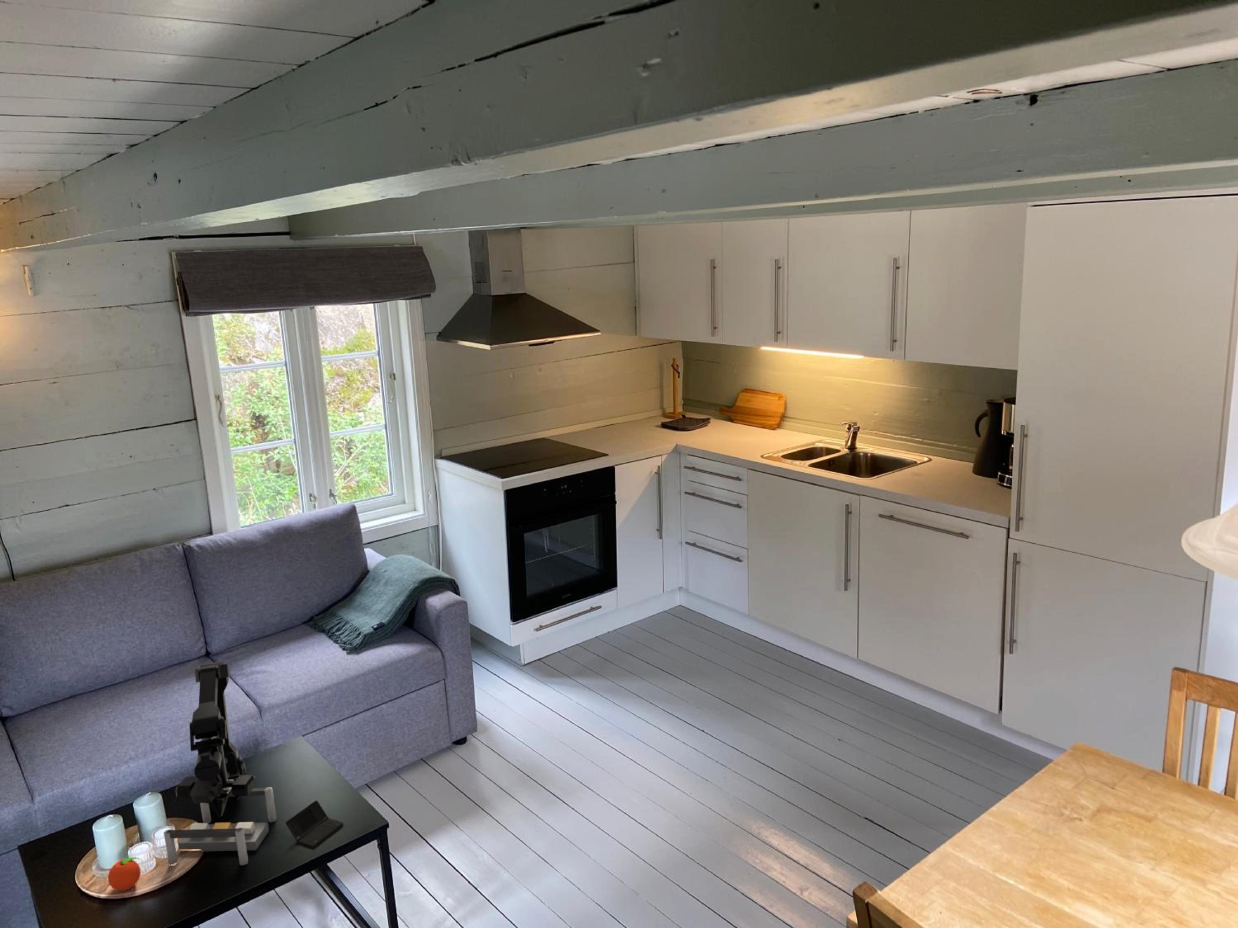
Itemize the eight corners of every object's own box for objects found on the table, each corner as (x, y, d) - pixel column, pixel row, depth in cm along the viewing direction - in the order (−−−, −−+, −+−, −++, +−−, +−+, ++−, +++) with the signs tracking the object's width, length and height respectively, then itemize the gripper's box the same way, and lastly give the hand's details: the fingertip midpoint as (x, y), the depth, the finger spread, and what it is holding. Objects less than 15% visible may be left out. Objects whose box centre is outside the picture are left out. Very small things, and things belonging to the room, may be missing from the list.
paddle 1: (195, 829, 238) (192, 823, 237) (210, 829, 238) (207, 822, 236) (191, 835, 236) (189, 829, 235) (207, 835, 236) (204, 829, 235)
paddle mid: (217, 829, 238) (215, 822, 236) (232, 828, 237) (230, 822, 236) (214, 835, 236) (212, 828, 235) (229, 835, 236) (227, 828, 234)
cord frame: (205, 819, 247) (200, 788, 245) (277, 817, 246) (273, 786, 244) (167, 866, 228) (162, 833, 226) (246, 864, 227) (241, 832, 225)
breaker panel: (194, 832, 241) (193, 824, 241) (268, 830, 241) (267, 822, 240) (179, 851, 233) (178, 842, 233) (256, 849, 233) (255, 841, 232)
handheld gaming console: (320, 843, 232) (299, 810, 233) (302, 857, 234) (281, 824, 235) (347, 823, 242) (326, 791, 244) (329, 836, 245) (309, 804, 246)
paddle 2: (240, 828, 237) (238, 822, 236) (255, 828, 237) (253, 821, 236) (237, 834, 236) (235, 828, 234) (252, 834, 235) (250, 828, 234)
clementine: (137, 871, 226) (133, 846, 225) (152, 881, 222) (147, 855, 221) (104, 890, 220) (100, 864, 218) (119, 900, 216) (114, 874, 214)
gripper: (160, 778, 225) (169, 834, 228) (233, 777, 224) (242, 833, 227) (182, 755, 235) (191, 809, 239) (253, 753, 235) (261, 807, 238)
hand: (220, 815), depth 235 cm, fingers closed
